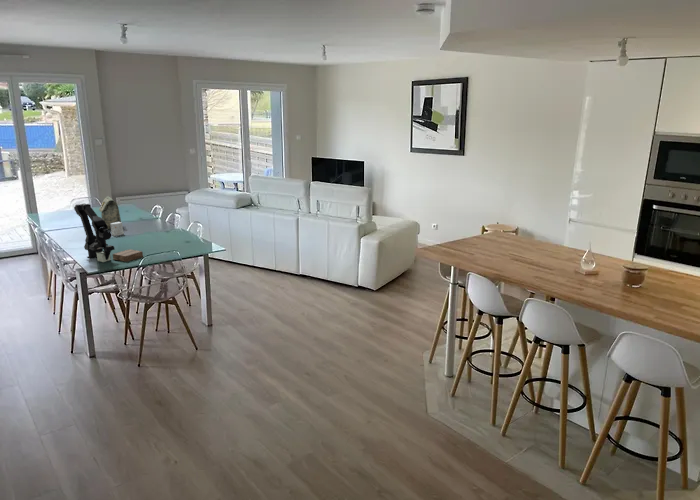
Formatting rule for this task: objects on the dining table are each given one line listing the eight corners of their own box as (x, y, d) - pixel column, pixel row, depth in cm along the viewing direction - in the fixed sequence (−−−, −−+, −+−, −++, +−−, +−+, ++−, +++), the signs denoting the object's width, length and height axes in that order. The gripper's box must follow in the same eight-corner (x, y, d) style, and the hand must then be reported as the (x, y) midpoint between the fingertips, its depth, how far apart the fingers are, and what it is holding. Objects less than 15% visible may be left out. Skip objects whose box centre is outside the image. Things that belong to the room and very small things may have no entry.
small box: (120, 233, 440) (119, 221, 437) (124, 234, 437) (122, 222, 434) (111, 235, 434) (109, 223, 432) (114, 236, 431) (113, 224, 428)
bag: (100, 225, 472) (96, 196, 465) (119, 223, 480) (115, 195, 473) (103, 230, 454) (99, 200, 446) (123, 228, 462) (119, 198, 455)
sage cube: (97, 261, 357) (96, 252, 355) (105, 258, 362) (104, 250, 360) (103, 262, 354) (102, 253, 353) (110, 259, 359) (109, 251, 358)
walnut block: (113, 259, 361) (112, 253, 360) (129, 254, 373) (129, 249, 372) (126, 261, 354) (125, 256, 353) (143, 256, 366) (142, 251, 365)
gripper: (81, 238, 351) (85, 260, 355) (99, 241, 342) (102, 263, 347) (96, 235, 361) (99, 256, 365) (113, 237, 352) (116, 259, 356)
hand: (104, 259), depth 358 cm, fingers closed on sage cube, 6 cm apart
